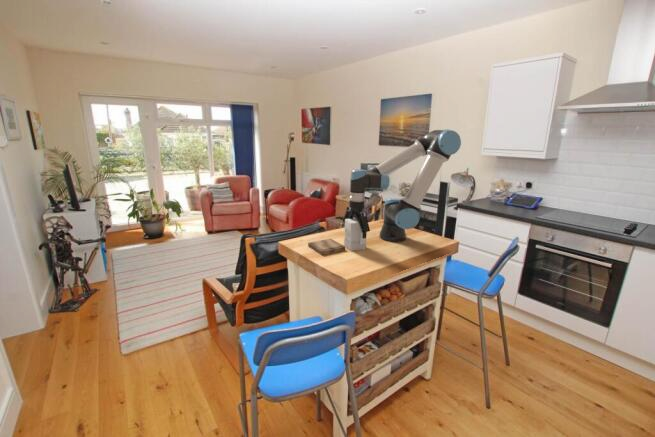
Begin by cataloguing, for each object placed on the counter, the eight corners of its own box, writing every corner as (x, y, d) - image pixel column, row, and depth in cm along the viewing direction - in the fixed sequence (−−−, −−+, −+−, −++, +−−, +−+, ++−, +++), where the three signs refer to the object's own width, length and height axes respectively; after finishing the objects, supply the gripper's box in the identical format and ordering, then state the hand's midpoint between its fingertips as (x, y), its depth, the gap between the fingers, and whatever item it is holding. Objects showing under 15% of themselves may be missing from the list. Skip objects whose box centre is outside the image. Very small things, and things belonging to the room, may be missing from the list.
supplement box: (359, 243, 169) (360, 217, 165) (366, 249, 161) (367, 221, 157) (343, 245, 166) (344, 218, 162) (350, 251, 158) (351, 223, 154)
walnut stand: (330, 242, 170) (330, 238, 170) (345, 250, 159) (345, 245, 158) (308, 246, 163) (308, 242, 163) (321, 255, 152) (321, 250, 151)
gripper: (337, 196, 165) (335, 234, 170) (366, 206, 144) (363, 248, 150) (348, 195, 169) (346, 232, 174) (378, 204, 148) (375, 246, 154)
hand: (354, 239), depth 162 cm, fingers open, 13 cm apart
